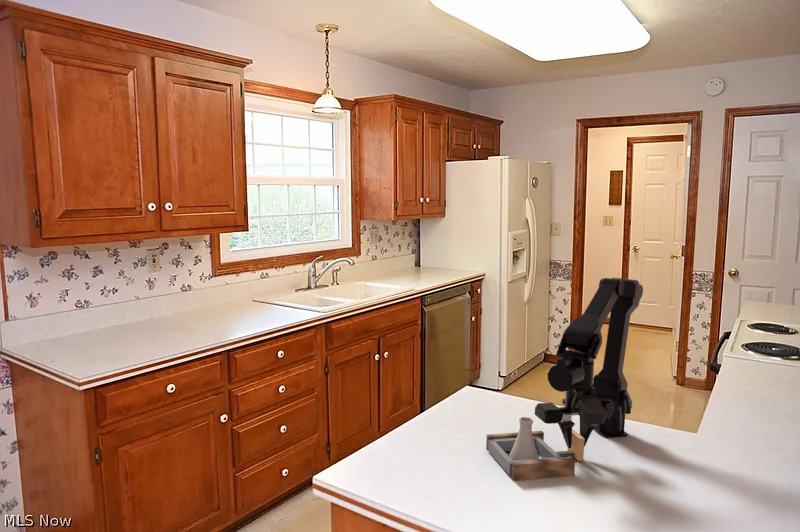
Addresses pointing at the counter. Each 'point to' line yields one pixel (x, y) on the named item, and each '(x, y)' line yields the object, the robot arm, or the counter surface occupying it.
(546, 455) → the sliding frame
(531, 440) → the flask
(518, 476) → the lane rails
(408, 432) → the counter surface
